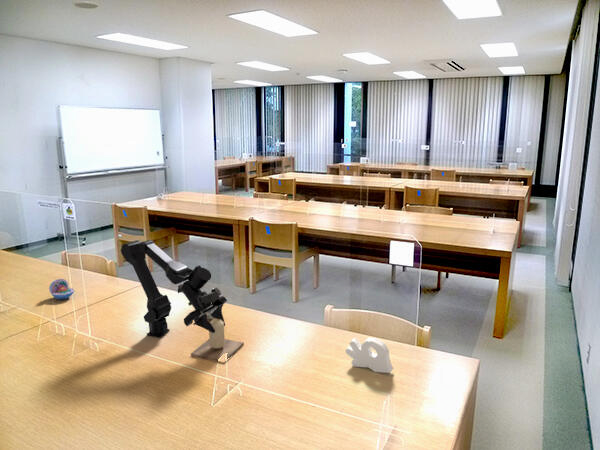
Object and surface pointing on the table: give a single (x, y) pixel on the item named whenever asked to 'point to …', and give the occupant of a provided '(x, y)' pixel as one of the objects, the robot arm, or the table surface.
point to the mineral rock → (209, 315)
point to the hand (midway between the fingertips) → (219, 329)
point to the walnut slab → (217, 350)
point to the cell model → (60, 289)
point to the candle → (217, 334)
